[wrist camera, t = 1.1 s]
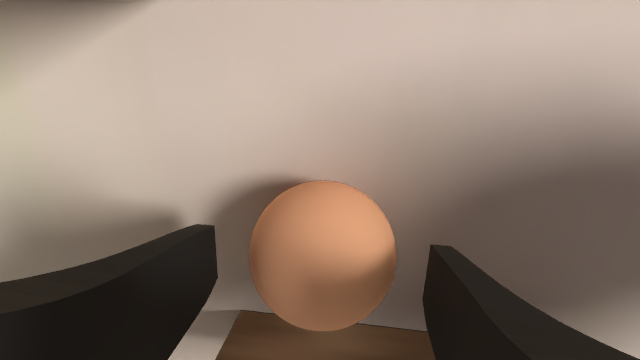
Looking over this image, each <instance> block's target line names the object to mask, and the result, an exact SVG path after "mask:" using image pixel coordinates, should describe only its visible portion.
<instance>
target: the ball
mask: <svg viewBox="0 0 640 360" xmlns="http://www.w3.org/2000/svg"><path fill="white" fill-rule="evenodd" d="M249 264H250V271H251V275H252V279H253V282H254V284H255V287H256V289H257V291H258V293H259V295H260V296H261V298H262V299H263V301H264V302H265V303H266V305H267V306H268V307H269V308H270V309H271V310H272V311H273V312H274V313H275V314H276V315H278V316H279V317H280V318H282V319H283V320H285V321H287V322H288V323H290V324H292V325H295V326H297V327H299V328H303V329H306V330H312V331H334V330H340V329H343V328H346V327H349V326H351V325H354V324H356V323H357V322H359V321H361V320H363V319H364V318H366V317H367V316H368V315H369V314H371V313H372V312H373V311H374V310H375V309H376V308H377V307H378V305H379V304H380V303H381V302H382V300H383V299H384V297H385V295H386V294H387V292H388V290H389V288H390V286H391V283H392V281H393V277H394V273H395V268H396V243H395V239H394V235H393V232H392V229H391V226H390V224H389V222H388V220H387V218H386V217H385V215H384V213H383V212H382V211H381V209H380V208H379V207H378V206H377V204H376V203H375V202H374V201H373V200H371V199H370V198H369V197H368V196H367V195H365V194H364V193H363V192H361V191H359V190H357V189H355V188H353V187H351V186H348V185H346V184H342V183H339V182H333V181H311V182H306V183H302V184H299V185H297V186H294V187H292V188H290V189H288V190H286V191H285V192H283V193H281V194H280V195H279V196H277V197H276V198H275V199H274V200H273V201H272V202H271V203H270V204H269V205H268V206H267V207H266V208H265V210H264V211H263V212H262V214H261V216H260V217H259V219H258V221H257V223H256V225H255V227H254V230H253V233H252V237H251V241H250V247H249Z"/></svg>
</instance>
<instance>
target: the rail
mask: <svg viewBox="0 0 640 360" xmlns="http://www.w3.org/2000/svg"><path fill="white" fill-rule="evenodd" d="M215 360H436V359H435V356H434V352H433V349H432V345H431V341H430V338H429V334H428V332H422V331H413V330H405V329H396V328H388V327H379V326H371V325H362V324H354V325H351V326H349V327H346V328H343V329H340V330H334V331H312V330H306V329H303V328H299V327H297V326H295V325H292V324H290V323H288V322H287V321H285V320H283V319H282V318H280V317H279V316H278V315H276V314H268V313H260V312H251V311H243V310H241V311H240V313H239V315H238V317H237V319H236V321H235V323H234V325H233V327H232V329H231V331H230V332H229V334H228V336H227V338H226V340H225V342H224V344H223V346H222V348H221V350H220V352H219V354H218V355H217V357H216V359H215Z"/></svg>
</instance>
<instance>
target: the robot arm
mask: <svg viewBox="0 0 640 360" xmlns="http://www.w3.org/2000/svg"><path fill="white" fill-rule="evenodd" d="M217 278H218V274H217V259H216V244H215V229H214V226H212V225H201V224H196V225H192V226H189V227H186V228H183V229H180V230H178V231H175V232H173V233H170V234H168V235H165V236H163V237H160V238H158V239H155V240H153V241H150V242H148V243H145V244H142V245H140V246H137V247H134V248H132V249H129V250H126V251H123V252H121V253H118V254H115V255H112V256H109V257H106V258H103V259H100V260H97V261H94V262H90V263H87V264H83V265H80V266H76V267H72V268H69V269H64V270H60V271H55V272H51V273H47V274H42V275H38V276H33V277H29V278H23V279H18V280H12V281H7V282H1V283H0V360H168V358H169V357H170V355H171V354H172V352H173V351H174V349H175V348H176V346H177V345H178V344H179V342H180V341H181V339H182V338H183V336H184V335H185V333H186V332H187V330H188V329H189V327H190V326H191V324H192V323H193V321H194V320H195V318H196V317H197V315H198V314H199V312H200V311H201V309H202V308H203V306H204V305H205V303H206V301H207V299H208V297H209V295H210V293H211V291H212V289H213V287H214V285H215V283H216V280H217ZM423 305H424V313H425V320H426V326H427V330H428V334H429V338H430V341H431V345H432V349H433V352H434V356H435V359H436V360H640V359H638V358H635V357H633V356H631V355H628V354H626V353H623V352H621V351H619V350H617V349H614V348H612V347H610V346H608V345H605V344H603V343H601V342H599V341H597V340H595V339H593V338H591V337H589V336H587V335H585V334H583V333H581V332H579V331H577V330H575V329H573V328H571V327H569V326H567V325H565V324H563V323H561V322H559V321H557V320H556V319H554V318H552V317H550V316H549V315H547V314H545V313H544V312H542V311H540V310H539V309H537V308H535V307H533V306H532V305H530V304H529V303H527V302H525V301H524V300H522V299H521V298H519V297H518V296H516V295H515V294H514V293H512V292H511V291H509V290H508V289H506V288H505V287H503V286H502V285H501V284H499V283H498V282H497V281H495V280H494V279H493V278H491V277H490V276H489V275H487V274H486V273H485V272H483V271H482V270H481V269H480V268H478V267H477V266H476V265H475V264H473V263H472V262H471V261H470V260H468V259H467V258H466V257H464V256H463V255H462V254H461V253H459V252H458V251H457V250H455V249H454V248H452V247H451V246H441V245H431V246H430V253H429V260H428V266H427V273H426V280H425V287H424V293H423Z"/></svg>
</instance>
